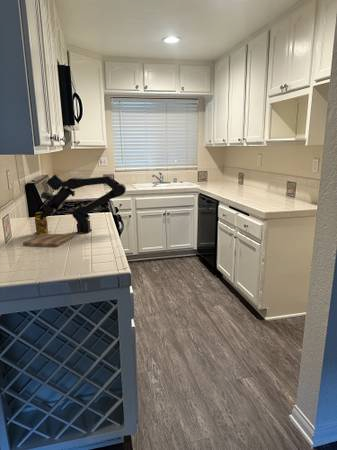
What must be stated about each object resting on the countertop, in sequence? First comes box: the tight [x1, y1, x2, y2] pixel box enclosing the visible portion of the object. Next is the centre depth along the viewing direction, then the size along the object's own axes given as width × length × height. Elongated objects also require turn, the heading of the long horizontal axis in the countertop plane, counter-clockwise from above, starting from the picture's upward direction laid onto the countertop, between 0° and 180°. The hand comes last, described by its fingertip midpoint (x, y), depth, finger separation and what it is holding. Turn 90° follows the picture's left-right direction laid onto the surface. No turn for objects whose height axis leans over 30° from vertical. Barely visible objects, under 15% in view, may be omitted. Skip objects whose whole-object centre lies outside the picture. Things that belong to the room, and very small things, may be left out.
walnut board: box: [22, 233, 74, 248], centre depth 157 cm, size 18×16×2 cm
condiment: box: [31, 211, 51, 237], centre depth 170 cm, size 7×8×12 cm
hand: (43, 217), depth 169 cm, fingers open, 9 cm apart
